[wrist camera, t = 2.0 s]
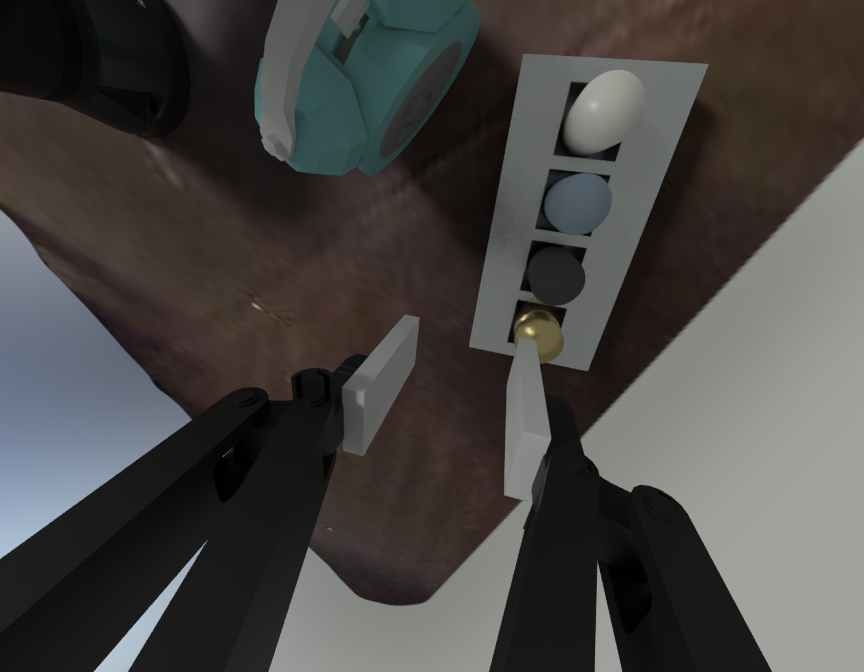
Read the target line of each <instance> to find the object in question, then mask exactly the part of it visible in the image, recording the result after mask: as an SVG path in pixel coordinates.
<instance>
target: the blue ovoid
mask: <svg viewBox="0 0 864 672" xmlns="http://www.w3.org/2000/svg"><path fill="white" fill-rule="evenodd" d="M611 204H612V194H611V190H610V188H609V185H608V184H607V183H606V181H605V180H604V179H602V178H601V177H599V176H597V175H595V174H590V173H582V174H577V175H573V176H569V177H565V178H562V179H560V180H558V181H557V182H555V183H554V184H553V185H552V186H551V187H550V188H549V189H548V191H547V192H546V194H545V197H544V200H543V212H544V215H545V217H546V219H547V220H548V221H549V222H550V223H551V224H552V225H553V226H554V227H556V228H557V229H558V230H559V231H561V232H563V233H565V234H568V235H583V234H586V233H589V232H591V231H593V230H594V229H596V228H597V227H598V226H599V225H601V223H602V222H603V221H604V220H605V219H606V217H607V215H608V213H609V211H610V208H611Z"/></svg>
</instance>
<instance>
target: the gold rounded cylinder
mask: <svg viewBox="0 0 864 672" xmlns="http://www.w3.org/2000/svg"><path fill="white" fill-rule="evenodd" d="M519 337H521V338H526V339H532V340H536V345H537V351H538V358H539V364H543V363H547V362H550V361H552V360H554V359H555V358H557V357H558V356H559V354H560V353H561V351H562V349H563V346H564V338H563V335H562V332H561V329H560V326H559V323H558V320H557V318H556V315H555V312H554V310H553V309H552V307H551V306H549V305H545V304H539V303H534V302H527V303H525V304H523V305H522V306H521V307H520V308H519V309H518V310H517V312H516V314H515V317H514V342H515V349H516V348H517V344H518V340H519Z"/></svg>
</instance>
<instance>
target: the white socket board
mask: <svg viewBox="0 0 864 672" xmlns="http://www.w3.org/2000/svg"><path fill="white" fill-rule="evenodd" d="M708 65H709V64H697V63H679V62H661V61H644V60H626V59H608V58H590V57H572V56H555V55H537V54H523V59H522V64H521V70H520V75H519V80H518V86H517V91H516V97H515V102H514V107H513V113H512V118H511V123H510V129H509V134H508V139H507V145H506V150H505V156H504V161H503V166H502V172H501V177H500V182H499V188H498V193H497V198H496V204H495V209H494V215H493V220H492V225H491V231H490V236H489V241H488V247H487V252H486V257H485V263H484V268H483V274H482V279H481V284H480V290H479V295H478V300H477V306H476V311H475V316H474V322H473V327H472V333H471V338H470V343H469V347H472V348H477V349H482V350H487V351H492V352H497V353H501V354H506V355H511V356H515V352H516V349H515V342H514V317H515V314H516V312H517V310H518V309H519V308H520V307H521V306H522V305H523V304H525V303H527V302H534V303H539V304H544V303H542V302H540V301H539V300H538V299H537V298H536V297H535V296H534V294H533V293H532V290H531V286H530V281H529V276H528V271H527V265H528V261H529V258H530V257H531V255H532V254H533V252H535V251H536V250H537V249H538V248H540V247H542V246H544V245H548V244H557V245H560V246H563V247H564V248H566V249H567V250H568V251H569V252H570V253H571V254H572V255H573V256H574V257H575V258H576V259H577V261H578V262H579V263H580V264H581V265H582V267H583V269H584V271H585V277H586V279H585V285H584V288H583V290H582V291H581V293H580V294H579V295H578V296H577V297H576V298H575V299H574V300H573V301H571V302H569V303H567V304H564V305H559V306H551V305H549V306H551V307H552V309H553V310H554V312H555V315H556V318H557V320H558V323H559V326H560V329H561V332H562V335H563V338H564V346H563V349H562V351H561V353H560V354H559V356H558V357H557V358H555V359H554V360H552V361H550V362H547V363H550V364H555V365H560V366H564V367H569V368H574V369H579V370H584V371H588V369H589V366H590V364H591V361H592V359H593V356H594V354H595V351H596V349H597V346H598V344H599V341H600V339H601V336H602V333H603V331H604V328H605V326H606V323H607V321H608V318H609V316H610V313H611V311H612V308H613V306H614V303H615V301H616V298H617V295H618V293H619V290H620V288H621V285H622V283H623V280H624V278H625V275H626V273H627V270H628V268H629V265H630V262H631V260H632V257H633V255H634V252H635V250H636V247H637V245H638V242H639V240H640V237H641V235H642V232H643V229H644V227H645V224H646V222H647V219H648V217H649V214H650V212H651V209H652V207H653V204H654V202H655V199H656V196H657V194H658V191H659V189H660V186H661V184H662V181H663V179H664V176H665V174H666V171H667V169H668V166H669V163H670V161H671V158H672V156H673V153H674V151H675V148H676V146H677V143H678V141H679V138H680V136H681V133H682V131H683V128H684V125H685V123H686V120H687V118H688V115H689V113H690V110H691V108H692V105H693V103H694V100H695V98H696V95H697V92H698V90H699V87H700V85H701V82H702V80H703V77H704V75H705V72H706V70H707V67H708ZM613 70H624V71H627V72H630V73H632V74H634V75H635V76H636V77H637V78H638V79H639V80H640V82H641V84H642V86H643V88H644V92H645V106H644V111H643V114H642V117H641V119H640V121H639V123H638V125H637V126H636V128H635V129H634V130H633V131H632V133H631V134H630V135H629V136H628V137H626V138H625V139H624V140H623V141H621V142H620V143H618V144H616V145H614V146H611V147H609V148H607V149H605V150H602V151H600V152H598V153H596V154H593V155H590V156H585V157H581V156H576V155H574V154H572V153H570V152H569V151H568V150H567V149H566V148H565V146H564V144H563V142H562V137H561V128H562V123H563V120H564V118H565V116H566V114H567V112H568V111H569V110H570V108H571V107H572V105H573V104H574V102H575V101H576V100H577V98H578V97H579V95H580V94H581V93H582V91H583V90H584V88H585V87H586V86H587V85H588V84H589V83H590V82H591V81H592V80H593V79H595V78H596V77H598V76H599V75H601V74H603V73H605V72H609V71H613ZM582 173H590V174H595V175H597V176H599V177H601V178H602V179H604V180H605V181H606V183H607V184H608V185H609V188H610V190H611V194H612V204H611V208H610V211H609V213H608V215H607V217H606V219H605V220H604V221H603V222H602V223H601V225H599V226H598V227H597V228H596V229H594V230H593V231H591V232H589V233H586V234H583V235H568V234H565V233H563V232H561V231H559V230H558V229H557V228H556V227H554V226H553V225H552V224H551V223H550V222H549V221H548V220H547V219H546V217H545V215H544V212H543V200H544V197H545V194H546V192H547V191H548V189H549V188H550V187H551V186H552V185H553V184H554V183H555V182H557V181H558V180H560V179H562V178H565V177H569V176H573V175H577V174H582ZM545 305H547V304H545Z"/></svg>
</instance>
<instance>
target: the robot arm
mask: <svg viewBox="0 0 864 672" xmlns="http://www.w3.org/2000/svg"><path fill="white" fill-rule="evenodd" d="M188 87H189V85H188V70H187V63H186V58H185V54H184V50H183V46H182V43H181V40H180V37H179V35H178V32H177V30H176V27H175V25H174V23H173V21H172V19H171V17H170V15H169V13H168V12H167V10H166V8H165V7H164V5H163V4H162V2H161V1H160V0H0V92H6V93H11V94H16V95H21V96H27V97H32V98H38V99H43V100H48V101H53V102H58V103H61V104H63V105H65V106H67V107H70V108H72V109H74V110H76V111H78V112H80V113H83V114H85V115H87V116H89V117H91V118H94V119H96V120H98V121H100V122H102V123H104V124H107V125H109V126H111V127H113V128H115V129H118V130H120V131H123V132H127V133H130V134H136V135H143V136H150V137H157V136H162V135H165V134H167V133H169V132H170V131H172V130H173V129H174V128H175V127H176V126H177V125H178V123H179V122H180V120H181V118H182V116H183V114H184V111H185V108H186V104H187V99H188ZM418 327H419V317H414V316H409V315H404V316H403V318H402V319H401V320H400V321H399V322H398V323H397V324H396V326H395V327H394V328H393V329H392V330H391V331H390V333H389V334H388V335H387V336H386V337H385V338H384V339H383V341H382V342H381V343H380V344H379V345H378V346H377V348H376V349H375V350H374V351H373V352H372V353H371V354H370V356H365V355H361V354H355V355H353V356H351V357H349V358H347V359H346V360H345V361H344V362H343V363H342V364H341V366H339V367H338V368H337V369H336V370H335V372H333V373H331V372H330V371H328V370H326V369H321V368H309V369H305V370H301V371H299V372H297V373H295V374H294V375H293V376H292V377H291V383H292V392H293V400H290V401H271V400H269V398H268V394H267V392H266V391H265V390H263V389H261V388H254V387H249V388H242V389H239V390H236V391H233V392H231V393H229V394H228V395H226V396H225V397H223V398H222V399H221V400H219V401H218V402H216V403H215V404H214V405H212V406H211V407H209V408H208V409H207V410H205V411H204V412H203V413H201V414H200V415H198V416H197V417H196V418H194V419H193V420H192V421H190V422H189V423H187V424H186V425H185V426H183V427H182V428H181V429H179V430H178V431H176V432H175V433H174V434H172V435H171V436H169V437H168V438H167V439H165V440H164V441H163V442H161V443H160V444H158V445H157V446H156V447H154V448H153V449H151V450H150V451H149V452H147V453H146V454H145V455H143V456H142V457H140V458H139V459H138V460H136V461H135V462H134V463H132V464H131V465H129V466H128V467H127V468H125V469H124V470H123V471H121V472H120V473H118V474H117V475H116V476H114V477H113V478H112V479H110V480H109V481H108V482H106V483H105V484H104V485H102V486H100V487H99V488H98V489H96V490H95V491H94V492H92V493H91V494H89V495H88V496H87V497H85V498H84V499H83V500H81V501H80V502H78V503H77V504H76V505H74V506H73V507H72V508H70V509H69V510H67V511H66V512H65V513H63V514H62V515H60V516H59V517H58V518H56V519H55V520H54V521H52V522H51V523H49V524H48V525H47V526H45V527H44V528H42V529H41V530H40V531H38V532H37V533H36V534H34V535H33V536H31V537H30V538H29V539H27V540H26V541H25V542H23V543H22V544H20V545H19V546H18V547H16V548H15V549H14V550H12V551H11V552H9V553H8V554H7V555H5V556H4V557H2V558H1V559H0V672H94V671H95V670H96V668H97V667H98V666H99V665H100V664H101V663H102V661H103V660H104V659H105V658H106V657H107V656H108V654H109V653H110V652H111V651H112V650H113V649H114V648H115V646H116V645H117V644H118V643H119V642H120V641H121V639H122V638H123V637H124V636H125V635H126V634H127V632H128V631H129V630H130V629H131V628H132V627H133V625H134V624H135V623H136V622H137V621H138V620H139V618H140V617H141V616H142V615H143V614H144V613H145V612H146V610H147V609H148V608H149V607H150V605H152V603H153V602H154V601H155V600H156V599H157V598H158V597H159V595H160V594H161V593H162V592H163V591H164V589H165V588H166V587H167V586H168V585H169V584H170V583H171V581H172V580H173V579H174V578H175V577H176V576H177V575H178V573H179V572H180V571H181V570H182V569H183V568H184V566H185V565H186V564H187V563H188V562H189V561H190V559H191V558H192V557H193V556H194V555H195V554H196V553H197V551H198V550H199V549H200V548H201V547H202V546H203V544H204V543H205V542H206V541H207V542H206V544H205V545H204V547H203V549H202V550H201V552H200V554H199V555H198V557H197V558H196V560H195V562H194V563H193V565H192V567H191V569H190V570H189V572H188V573H187V575H186V577H185V578H184V580H183V582H182V583H181V585H180V587H179V588H178V590H177V592H176V593H175V595H174V597H173V598H172V600H171V601H170V603H169V605H168V607H167V608H166V610H165V611H164V613H163V615H162V616H161V618H160V620H159V621H158V623H157V625H156V626H155V628H154V630H153V632H152V633H151V635H150V636H149V638H148V640H147V641H146V643H145V644H144V646H143V648H142V649H141V651H140V653H139V654H138V656H137V658H136V659H135V661H134V663H133V664H132V666H131V668H130V669H129V671H128V672H268V671H269V668H270V665H271V662H272V659H273V656H274V653H275V649H276V646H277V643H278V640H279V637H280V634H281V631H282V628H283V624H284V621H285V618H286V615H287V612H288V609H289V605H290V602H291V599H292V596H293V593H294V590H295V587H296V584H297V580H298V577H299V574H300V571H301V568H302V565H303V561H304V559H305V555H306V552H307V549H308V546H309V543H310V540H311V537H312V533H313V530H314V527H315V524H316V521H317V518H318V515H319V512H320V508H321V505H322V502H323V499H324V496H325V493H326V490H327V486H328V483H329V480H330V477H331V474H332V471H333V468H334V465H335V461H336V455H337V451H336V448H337V447H338V446H339V444H340V443H341V441H342V440H343V451H347V452H350V453H354V454H358V455H361V456H363V455H364V454H365V452H366V450H367V448H368V447H369V445H370V443H371V441H372V439H373V438H374V436H375V434H376V432H377V430H378V429H379V427H380V425H381V423H382V422H383V420H384V418H385V416H386V414H387V413H388V411H389V409H390V407H391V406H392V404H393V402H394V400H395V398H396V397H397V395H398V393H399V391H400V390H401V388H402V386H403V384H404V382H405V381H406V379H407V377H408V375H409V374H410V372H411V370H412V368H413V366H414V365H415V357H416V347H417V337H418ZM230 449H231V451H230V452H229V453H228V454H227V455H225V456H224V457H222V456H223V455H224V454H226V453H227V452H228V451H229V450H230ZM531 491H532V499H533V504H532V507H531V509H530V512H529V514H528V517H527V519H526V522H525V525H524V527H523V529H525V531H524V535H523V539H522V543H521V547H520V551H519V555H518V559H517V563H516V567H515V571H514V575H513V579H512V583H511V587H510V590H509V594H508V599H507V603H506V607H505V610H504V615H503V618H502V623H501V626H500V630H499V634H498V638H497V642H496V646H495V650H494V654H493V658H492V663H491V666H490V671H489V672H595V633H596V630H595V629H596V594H597V560H598V564H599V569H600V573H601V578H602V582H603V587H604V591H605V596H606V600H607V605H608V609H609V614H610V618H611V623H612V627H613V632H614V636H615V641H616V645H617V650H618V654H619V658H620V663H621V667H622V672H772V671H771V669H770V667H769V665H768V663H767V662H766V660H765V658H764V656H763V654H762V652H761V651H760V648H759V646H758V645H757V643H756V641H755V639H754V637H753V635H752V633H751V632H750V630H749V628H748V626H747V624H746V622H745V620H744V618H743V617H742V615H741V613H740V611H739V609H738V607H737V605H736V603H735V602H734V600H733V598H732V596H731V594H730V593H729V591H728V589H727V587H726V585H725V583H724V581H723V579H722V577H721V575H720V574H719V572H718V570H717V568H716V566H715V564H714V562H713V560H712V559H711V557H710V555H709V553H708V551H707V549H706V548H705V546H704V544H703V542H702V540H701V538H700V536H699V534H698V532H697V531H696V529H695V527H694V525H693V523H692V521H691V519H690V518H689V516H688V514H687V513H686V511H685V510H684V509H683V507H682V506H681V505H680V504H679V503H678V502H677V501H676V500H675V499H673V498H672V497H671V496H669V495H668V494H666V493H664V492H663V491H661V490H659V489H657V488H654V487H651V486H646V485H639V486H636V487H634V488H633V490H632V492H631V493H630V492H628V491H626V490H624V489H622V488H620V487H618V486H616V485H614V484H612V483H610V482H609V481H607V480H605V479H603V478H602V477H601V476H599V472H598V469H597V467H596V466H595V464H594V463H593V462H592V461H591V460H590V459H589V458H587V457H586V456H585V455H584V452H583V448H582V445H581V441H580V437H579V434H578V430H577V427H576V423H575V419H574V415H573V412H572V408H571V407H570V406H569V404H568V403H567V402H566V401H565V400H564V399H563V398H559V397H554V396H550V395H545V394H544V389H543V383H542V376H541V370H540V364H539V358H538V351H537V345H536V340H532V339H526V338H521V337H519V340H518V344H517V348H516V352H515V356H514V359H513V363H512V367H511V371H510V375H509V378H508V382H507V399H506V438H505V477H504V495H506V496H510V497H513V498H517V499H520V500H524V501H528V499H529V496H530V494H531Z"/></svg>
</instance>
